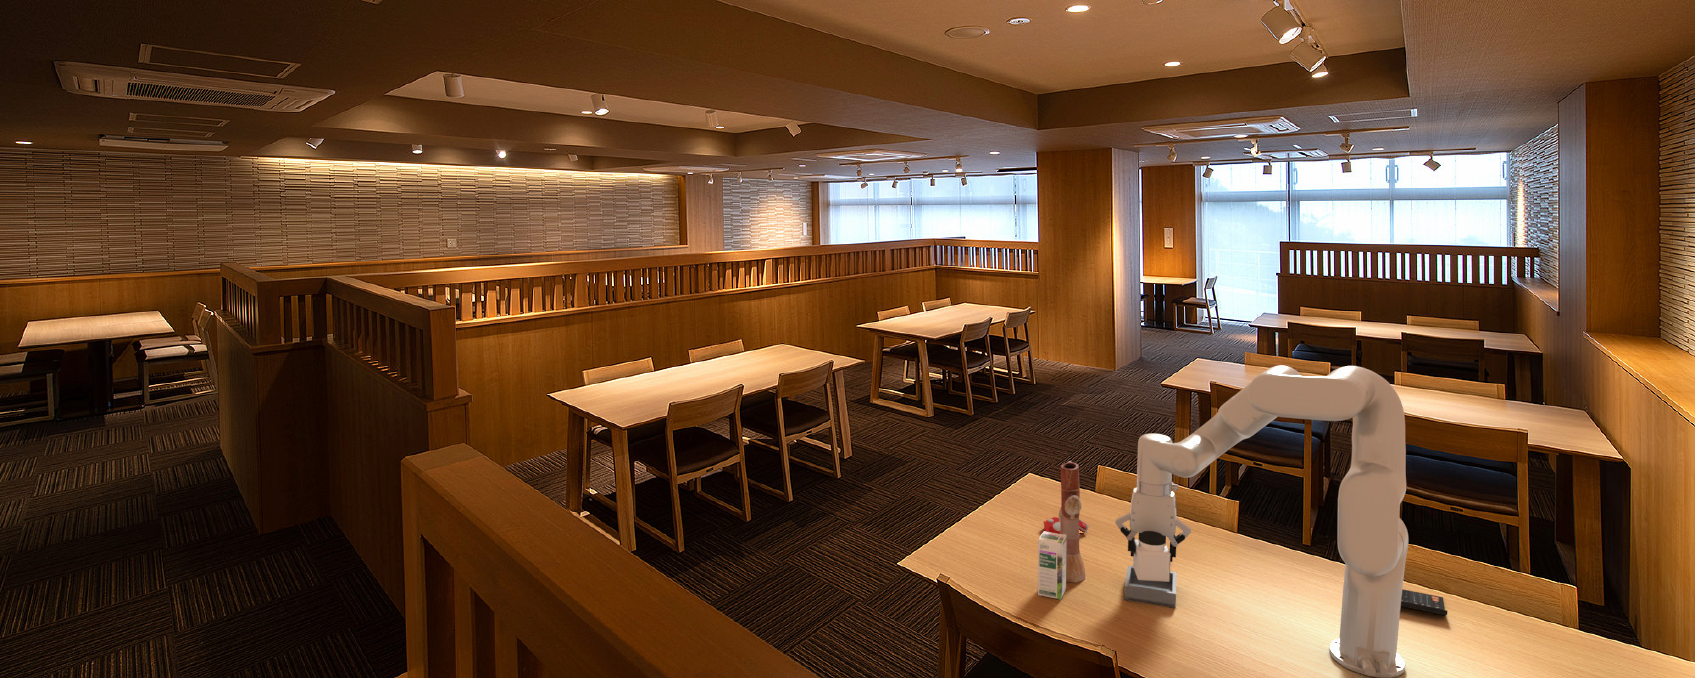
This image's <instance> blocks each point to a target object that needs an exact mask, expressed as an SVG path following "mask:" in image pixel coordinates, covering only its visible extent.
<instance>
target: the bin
mask: <svg viewBox="0 0 1695 678" xmlns="http://www.w3.org/2000/svg"><path fill="white" fill-rule="evenodd" d="M1124 583H1125V584H1124V601H1127V602H1128V601H1129V602H1135V603H1142V604H1148V605H1153V606H1161V607H1167V608H1174V609H1177V608H1176V607H1177V605H1176V603H1177V572H1176V571H1170V581H1169V582H1163V581H1146V580H1138V579H1137V576H1136V573H1135V570H1134V567H1133V565H1127V571H1126V576H1125V582H1124Z"/></svg>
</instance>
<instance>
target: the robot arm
mask: <svg viewBox="0 0 1695 678" xmlns="http://www.w3.org/2000/svg"><path fill="white" fill-rule="evenodd" d="M1278 417H1280V418H1291V419H1302V420H1312V421H1313V420H1314V421H1315V420H1316V421H1329V422H1339V421H1340V422H1341V421H1345V420H1346V421H1348V420H1350V419H1352V430H1351V431H1352V432H1351V445H1352V446H1351V462H1350V466H1349V467H1350V468H1349V470H1348V471H1347V473H1346V474H1345V476H1344V477H1343V479H1342V480H1341V482H1340V485H1339V488H1338V497H1337V549H1338V553H1339V556H1340V557H1341V558H1340V559H1342V561H1343V562H1344V563H1345V565H1344V576H1343V586H1342V600H1341V613H1340V627H1339V637H1338V638H1337V639H1334V640H1333V641H1331V642H1330V644H1329V653H1330V656H1331V657H1332V659H1334V661H1336V662H1337V663H1338V664H1339V665H1341V666H1343V667H1345V668H1346V669H1347V670H1350V671H1353V672H1355V673H1358V674H1360V673H1361V675H1363V674H1364V676H1368V677H1372V678H1373V677H1374V678H1396V677H1399V676H1400V675H1402V674H1403V673H1405V670H1406V662H1405V660H1404V658H1403V657H1402V656H1401V655H1400V654H1399V653H1398V652H1397V650H1398V640H1399V630H1400V629H1399V628H1400V618H1401V607H1402V606H1401V596H1402V589H1404V588H1403V586H1404V577H1405V567H1406V561H1407V555H1408V548H1409V533H1408V529H1407V527H1406V525H1405V523H1404V521H1403V520H1402V518H1400V511H1401V509H1400V508H1401V503H1402V502H1403V500H1404V497H1405V495H1406V491H1407V477H1406V472H1407V471H1406V464H1407V463H1406V461H1407V460H1406V458H1407V457H1406V453H1407V450H1406V449H1407V448H1406V419H1405V410H1404V407H1403V402H1402V401H1401V398H1400V396H1399V394H1398V393H1397V391H1396V389H1395V388H1394V387H1393V385H1391V384H1390V383H1389V381H1387V379H1385V378H1384V377H1383V376H1381V375H1379V374H1378V373H1376V372H1374V371H1373V370H1370V369H1367V368H1365V367H1361V366H1357V365H1347V366H1342V367H1338V368H1336V369H1334V370H1332V371H1330V373H1329V374H1327V375H1326V376H1313V375H1311V376H1310V375H1309V376H1308V375H1307V376H1305V375H1304V376H1303V375H1301V373H1300V372H1298V370H1297V369H1295V368H1293V367H1291V366H1287V365H1275V366H1272V367H1270V368H1268V369H1266V370H1265V371H1263V372H1261V373H1259V374H1258V375H1257V376H1255V377H1254V378H1253V379H1252V380H1251V382H1250V383H1248V384H1247V385H1246V386H1245V387H1243V388H1242V389H1241V390H1239V392H1237V393H1236V394H1234V395H1233V396H1231V397H1230V398H1229V399H1228V400H1227V401H1225V402H1224V403H1223V404H1222V405H1221V406H1220V407H1219V409H1218V411H1217V413H1216V414H1215V415H1214V416H1213V417H1211V418H1210V419H1209V420H1208V421H1206V422H1205V423H1204V424H1203V425H1201V426H1200V427H1199V428H1197V429H1196V430H1195V431H1194V432H1193V433H1191V434H1190V435H1188V436H1187V437H1185V438H1184V439H1182V440H1181V441H1178V442H1173V440H1172V439H1171V437H1169V436H1167V435H1164V434H1161V433H1145V434H1142V435H1140V436H1139V439H1138V441H1137V442H1138V443H1137V465H1136V466H1137V467H1136V469H1137V470H1136V471H1137V472H1136V487H1134V488H1133V491H1132V493H1131V494H1132V495H1131V500H1130V501H1131V502H1130V511H1129V512H1128V513H1125V514H1123V515H1121V516H1119V517H1118V518H1116V519H1115V521H1114V523H1115V525H1116V526H1117V527H1118V529H1119V530H1120V533H1122V535H1124V537H1125V538H1126V539H1127V551H1128V552H1130V557H1132V558H1133V556H1134V549H1135V540H1136V537H1135V536H1136V535H1137V534H1139V533H1142V532H1143V531H1154V532H1158V533H1161V534H1162V535H1163V536H1166V538H1167V539H1168V541H1169V552H1170V554H1171V559H1170V563H1173V561H1174V560H1173V558H1177V547H1178V546H1179V544H1181V543H1182V542H1184V541H1185V539H1186V538H1187V537H1188V536H1189V535H1190V534H1191V533H1192V528H1191V527H1190V526H1188V525H1187V524H1186V523H1184V522H1183V521H1181V520H1180V519H1179V518H1178V517H1177V500H1176V495H1175V492H1174V491H1178V489H1179V484H1178V483H1177V484H1176V483H1174V481H1172V479H1173V476H1172V475H1175V476H1178V477H1181V478H1192V477H1194V476H1196V475H1198V474H1199V473H1200V472H1202V471H1203V470H1204V469H1205V468H1207V466H1209V465H1211V464H1212V463H1213V462H1214V461H1216V460H1217V459H1218V458H1219V457H1220V456H1222V455H1224V453H1226V452H1227V451H1229V450H1230V449H1232V448H1233V447H1234V446H1235V445H1237V444H1238V443H1240V442H1241V441H1243V440H1246V439H1249V438H1251V437H1252V436H1254V435H1255V434H1256V433H1258V432H1259V431H1260V430H1262V429H1263V428H1265V426H1267V425H1268V424H1270V423H1271V422H1273V421H1274V420H1275V419H1276V418H1278ZM1128 521H1129V528H1128V527H1127V526H1125V523H1126V522H1128ZM1176 528H1179V529H1181V532H1180V533H1178V535H1176V530H1177V529H1176Z"/></svg>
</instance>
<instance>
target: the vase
mask: <svg viewBox="0 0 1695 678" xmlns="http://www.w3.org/2000/svg"><path fill="white" fill-rule="evenodd" d="M1059 469H1060V491H1061V492H1060V493H1061V496H1060V497H1061V499H1060V500H1061V503H1060V505H1061V506H1060V508H1059V512H1058V518H1059V521H1060V526H1061V528H1060V534H1065V535H1066V583H1079V582H1083V581H1084V580H1085V579H1086V571H1085V570H1086V569H1085V564H1084V561H1083V558H1082V554H1081V551H1080V533H1079V519H1080V513H1081V510H1082V501H1081V499H1080V498H1081V497H1080V496H1081V495H1080V494H1081V489H1080V486H1081V485H1080V471H1079V469H1080V467H1079V464H1078V463H1075V462H1072V461H1071V460H1069V461H1067V462H1065V463H1063V464H1061V465H1060V468H1059Z"/></svg>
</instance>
